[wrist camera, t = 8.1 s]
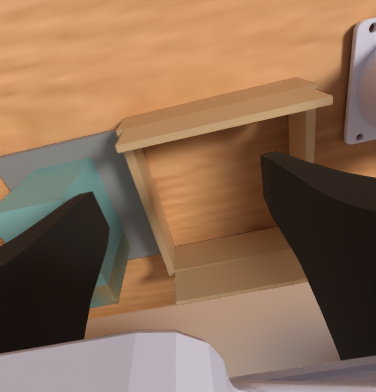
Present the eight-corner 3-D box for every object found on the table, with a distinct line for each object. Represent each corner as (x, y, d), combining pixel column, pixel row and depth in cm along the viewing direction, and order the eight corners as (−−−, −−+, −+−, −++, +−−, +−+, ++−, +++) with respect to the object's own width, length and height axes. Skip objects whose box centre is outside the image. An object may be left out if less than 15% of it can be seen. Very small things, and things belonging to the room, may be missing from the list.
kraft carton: (296, 77, 18) (345, 93, 13) (297, 227, 24) (329, 278, 19) (123, 118, 19) (103, 148, 14) (170, 252, 25) (168, 306, 20)
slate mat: (121, 127, 19) (119, 130, 18) (164, 248, 25) (164, 253, 25) (-6, 157, 20) (-10, 160, 19) (66, 267, 26) (64, 272, 25)
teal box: (90, 157, 19) (60, 200, 14) (130, 246, 24) (118, 302, 19) (34, 170, 20) (-16, 216, 15) (84, 255, 24) (59, 313, 19)
